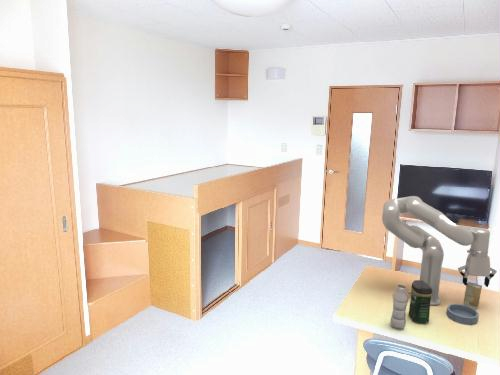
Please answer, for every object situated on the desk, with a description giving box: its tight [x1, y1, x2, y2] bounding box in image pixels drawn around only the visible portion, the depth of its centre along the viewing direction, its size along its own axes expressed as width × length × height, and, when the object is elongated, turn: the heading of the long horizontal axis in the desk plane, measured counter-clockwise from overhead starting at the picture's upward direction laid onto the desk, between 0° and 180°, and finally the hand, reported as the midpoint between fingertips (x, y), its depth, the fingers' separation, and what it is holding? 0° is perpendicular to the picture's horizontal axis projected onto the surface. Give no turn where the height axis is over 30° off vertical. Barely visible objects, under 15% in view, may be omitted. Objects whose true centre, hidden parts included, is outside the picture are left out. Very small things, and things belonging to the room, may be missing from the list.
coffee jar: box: [408, 279, 432, 325], centre depth 180 cm, size 10×8×19 cm
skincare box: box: [462, 281, 483, 311], centre depth 192 cm, size 6×4×12 cm
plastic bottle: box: [390, 284, 409, 330], centre depth 173 cm, size 6×7×20 cm
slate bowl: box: [445, 303, 480, 326], centre depth 183 cm, size 13×13×4 cm
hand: (475, 285), depth 191 cm, fingers open, 9 cm apart
